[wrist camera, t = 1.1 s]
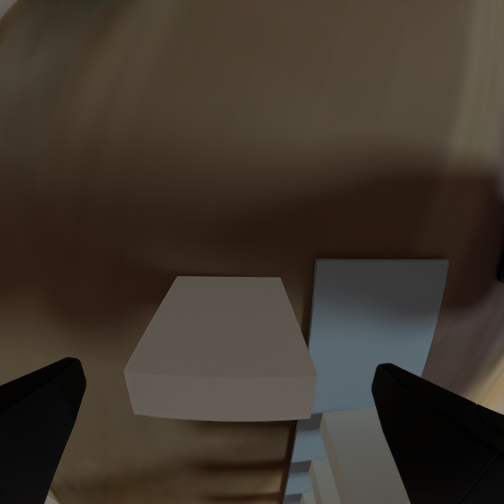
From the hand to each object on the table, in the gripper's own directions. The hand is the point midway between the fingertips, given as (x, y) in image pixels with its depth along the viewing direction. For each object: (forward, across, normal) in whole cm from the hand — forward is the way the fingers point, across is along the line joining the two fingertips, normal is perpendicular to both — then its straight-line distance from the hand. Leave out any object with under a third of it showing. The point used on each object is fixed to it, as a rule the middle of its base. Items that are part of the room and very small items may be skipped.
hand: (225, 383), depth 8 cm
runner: (+7, -8, +13) cm, 17 cm away
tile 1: (+7, -8, +9) cm, 14 cm away
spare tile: (+7, 0, 0) cm, 7 cm away
